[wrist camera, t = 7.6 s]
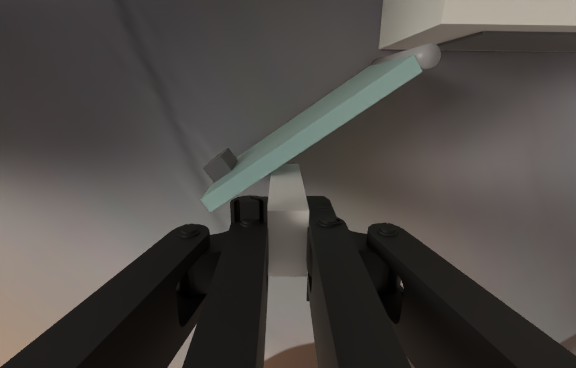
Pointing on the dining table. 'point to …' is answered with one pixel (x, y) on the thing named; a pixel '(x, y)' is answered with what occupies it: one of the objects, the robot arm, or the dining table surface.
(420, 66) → the side door
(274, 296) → the dining table surface
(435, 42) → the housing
